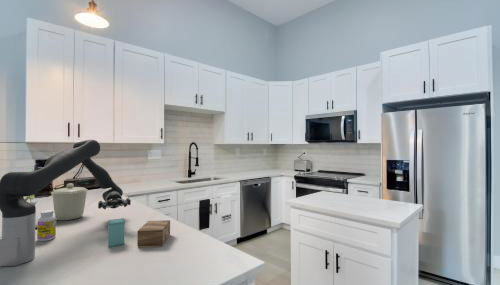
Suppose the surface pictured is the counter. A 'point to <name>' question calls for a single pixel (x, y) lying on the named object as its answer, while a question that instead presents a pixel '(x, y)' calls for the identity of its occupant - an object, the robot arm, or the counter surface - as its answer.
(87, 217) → the counter surface
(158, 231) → the wooden crate
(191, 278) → the counter surface
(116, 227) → the teal lidded bin
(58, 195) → the canister
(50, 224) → the supplement bottle
